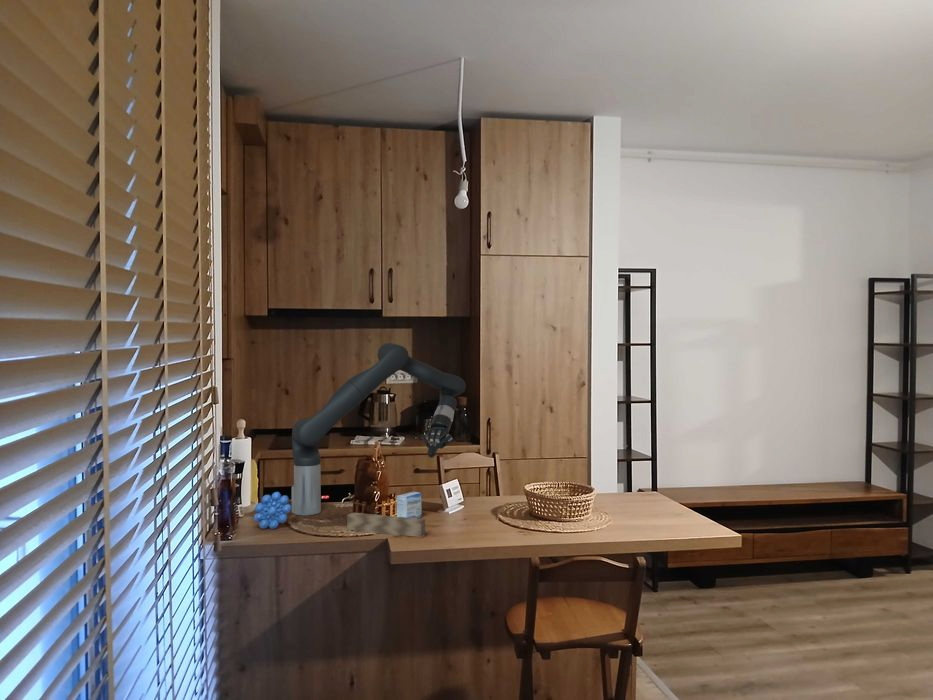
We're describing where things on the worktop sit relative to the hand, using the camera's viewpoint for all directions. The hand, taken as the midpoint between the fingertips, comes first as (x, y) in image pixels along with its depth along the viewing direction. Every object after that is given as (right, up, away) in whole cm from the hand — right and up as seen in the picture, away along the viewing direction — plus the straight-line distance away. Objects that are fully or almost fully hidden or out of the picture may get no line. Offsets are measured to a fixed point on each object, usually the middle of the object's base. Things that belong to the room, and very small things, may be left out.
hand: (430, 456), depth 243 cm
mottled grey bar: (-12, -18, -36) cm, 42 cm away
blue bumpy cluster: (-50, -19, -30) cm, 61 cm away
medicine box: (-6, -19, -20) cm, 28 cm away
